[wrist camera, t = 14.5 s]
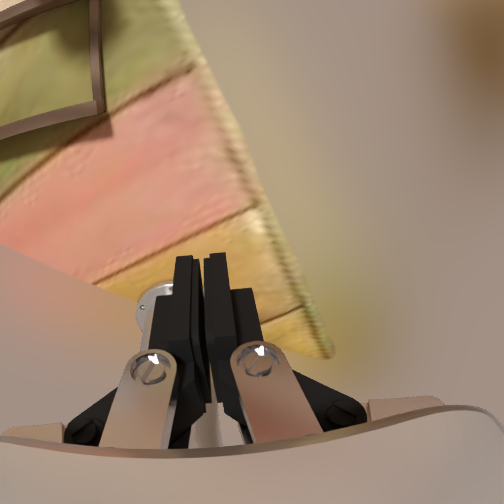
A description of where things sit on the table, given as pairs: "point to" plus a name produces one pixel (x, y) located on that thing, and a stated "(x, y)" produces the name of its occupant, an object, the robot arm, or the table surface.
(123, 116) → the table surface
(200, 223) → the table surface
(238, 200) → the table surface
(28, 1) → the walnut open-sided frame
